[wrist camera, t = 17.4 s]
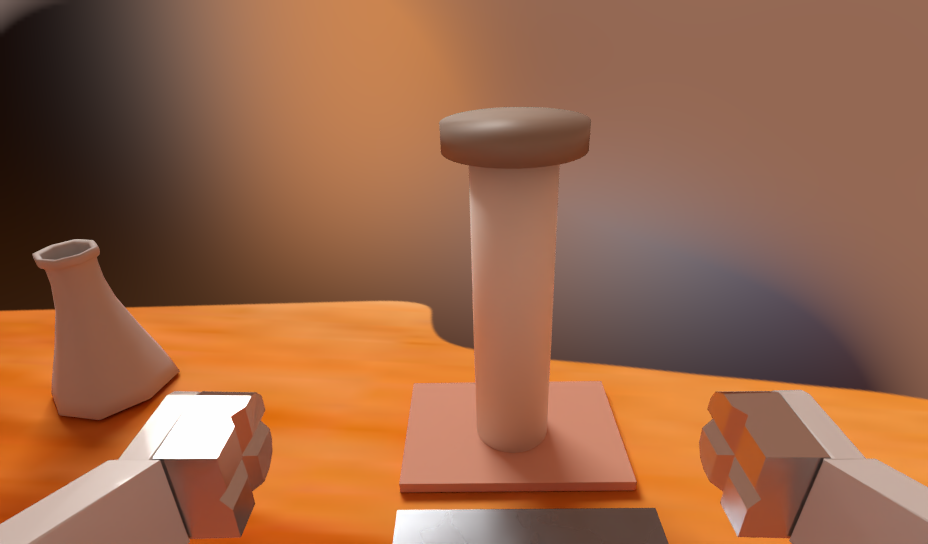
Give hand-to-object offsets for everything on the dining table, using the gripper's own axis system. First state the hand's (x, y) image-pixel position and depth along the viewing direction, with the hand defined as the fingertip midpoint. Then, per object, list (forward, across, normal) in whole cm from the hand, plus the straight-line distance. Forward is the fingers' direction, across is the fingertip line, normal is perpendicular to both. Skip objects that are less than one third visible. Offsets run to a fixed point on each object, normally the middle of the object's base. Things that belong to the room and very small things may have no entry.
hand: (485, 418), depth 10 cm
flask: (+21, +24, +16) cm, 35 cm away
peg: (+15, -2, +15) cm, 22 cm away
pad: (+15, -2, +16) cm, 22 cm away
